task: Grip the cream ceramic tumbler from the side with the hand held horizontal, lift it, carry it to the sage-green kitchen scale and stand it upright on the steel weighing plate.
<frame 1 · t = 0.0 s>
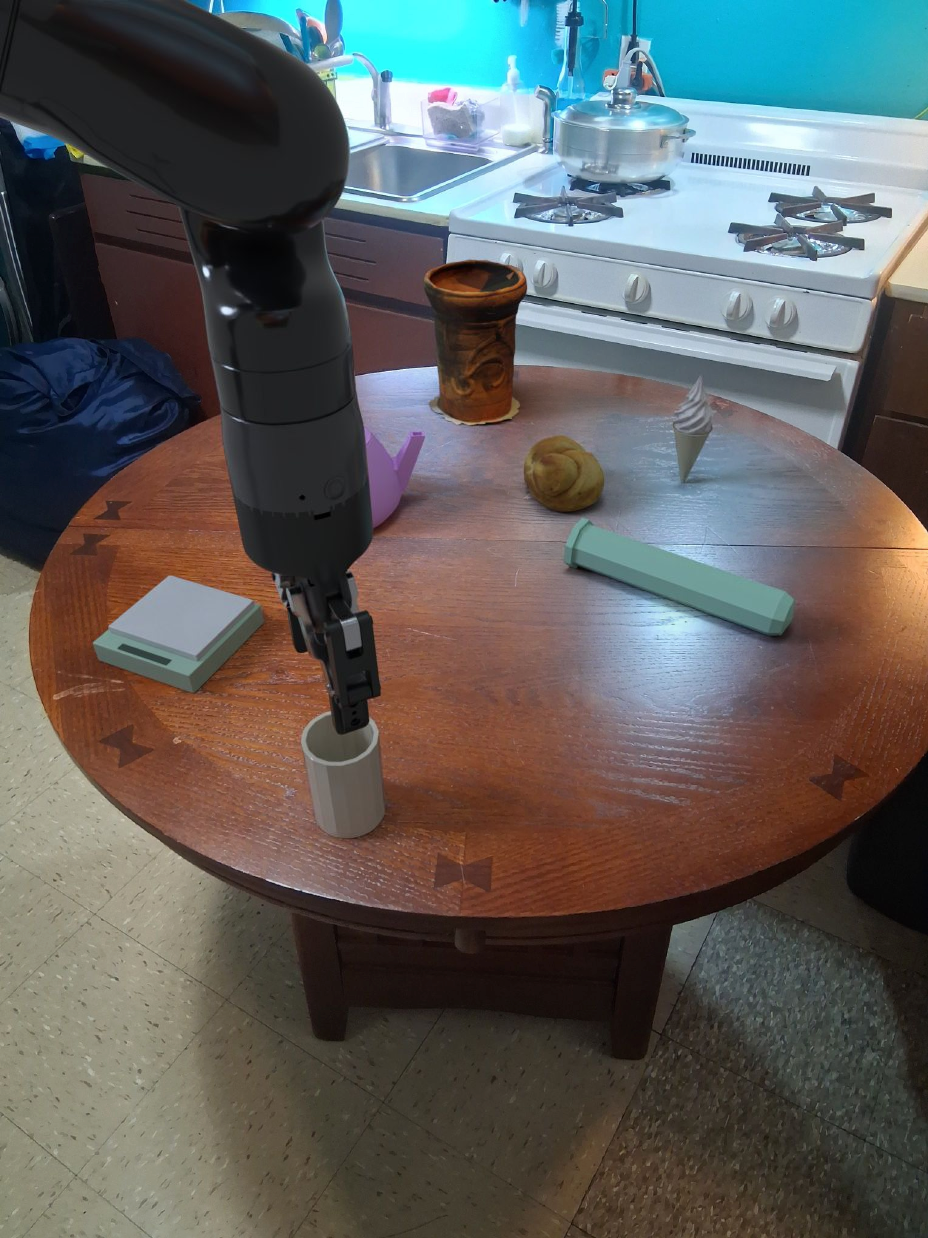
hand: (330, 685, 58), 19 cm above the table, tool pointing down, fingers open, 8 cm apart
scale: (183, 641, 91), on the table
vessel: (475, 409, 133), on the table
ice cream cone: (682, 483, 116), on the table
tumbler: (350, 809, 74), on the table
bread roll: (559, 493, 114), on the table
teapot: (341, 510, 111), on the table
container: (674, 598, 97), on the table
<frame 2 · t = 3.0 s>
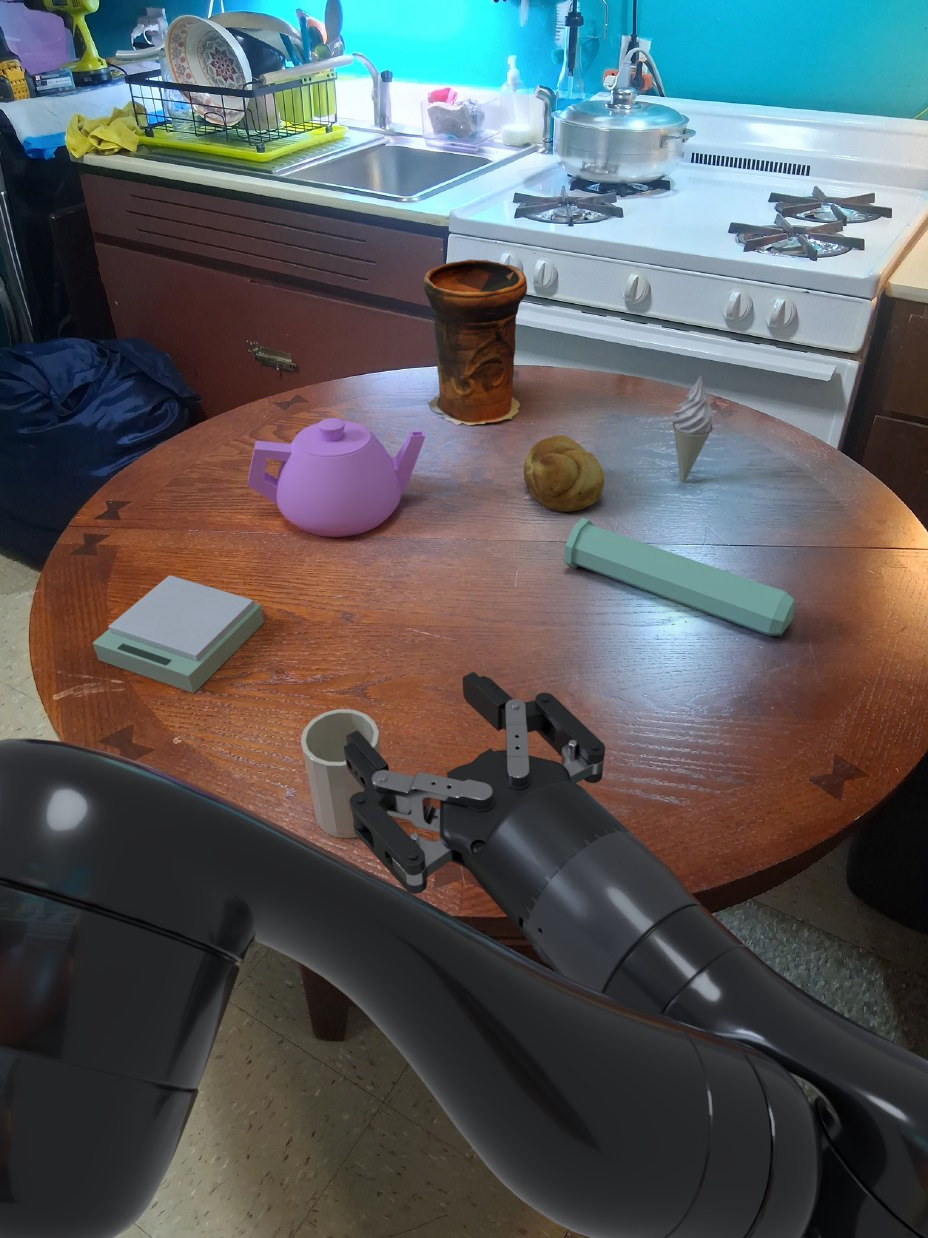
hand: (411, 712, 54), 20 cm above the table, tool horizontal, fingers open, 8 cm apart
nothing on the table moved.
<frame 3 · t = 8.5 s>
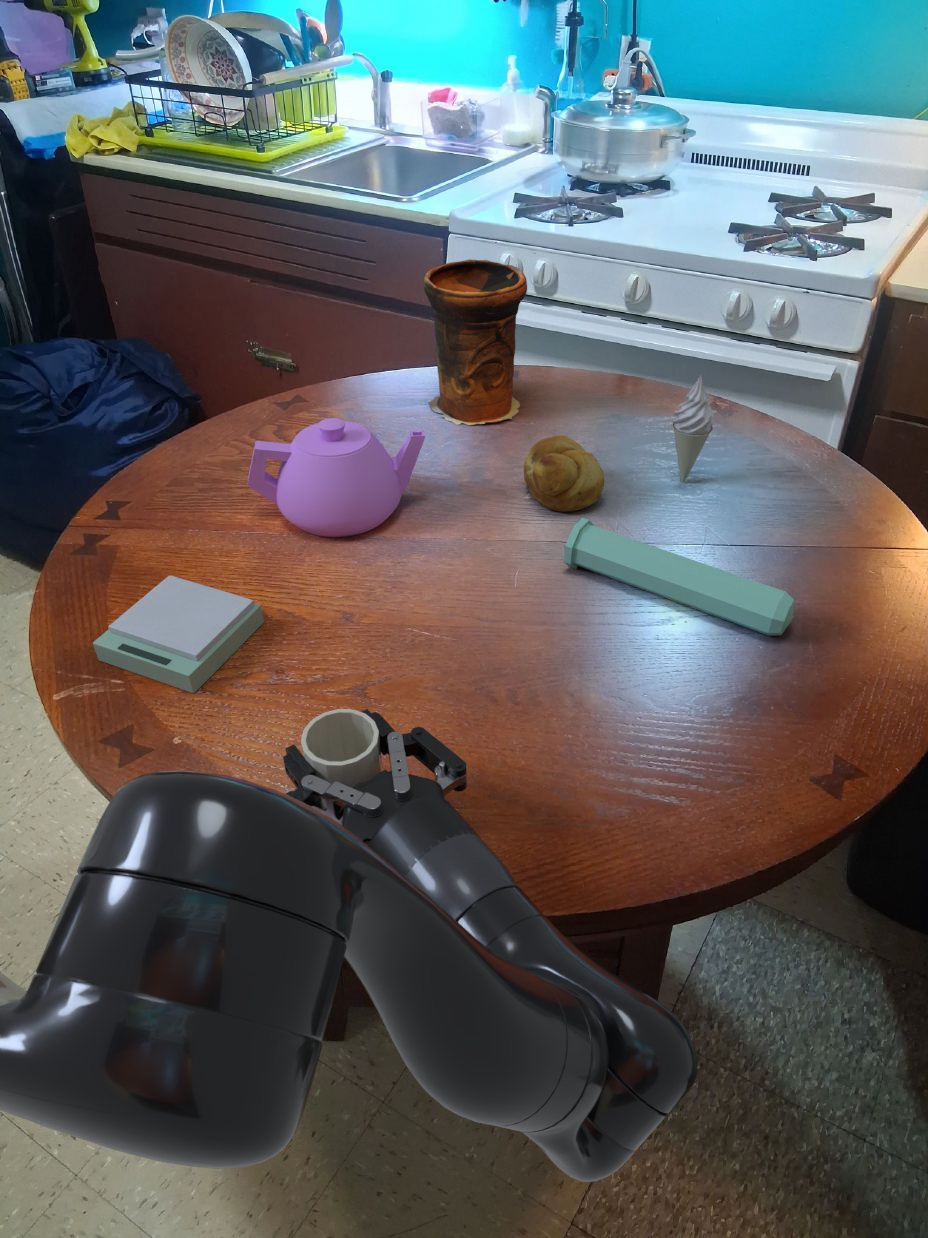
hand: (327, 735, 71), 7 cm above the table, tool horizontal, fingers closed on tumbler, 6 cm apart
tumbler: (350, 809, 74), on the table, touching gripper
everything else where it was.
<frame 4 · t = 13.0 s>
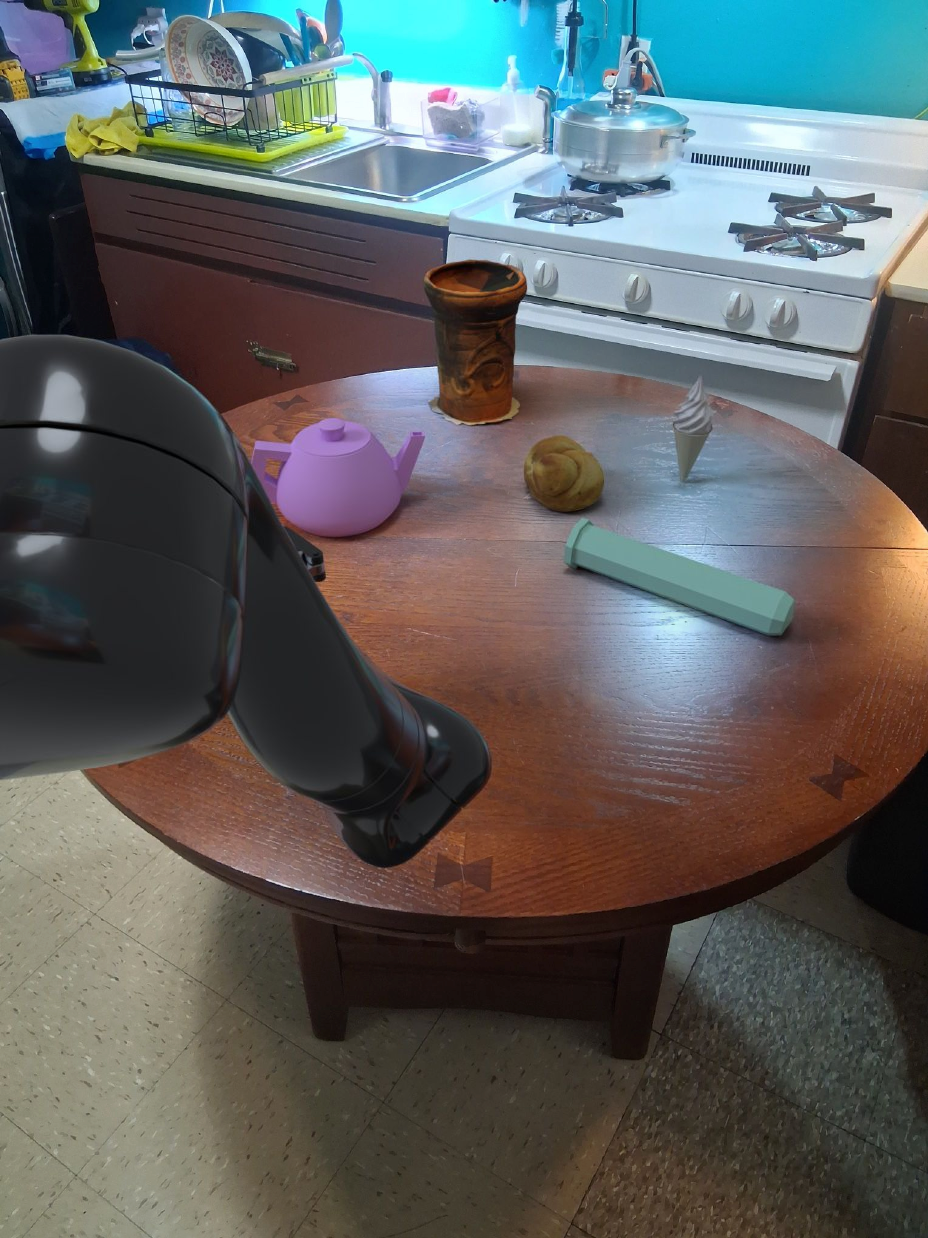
hand: (198, 537, 74), 18 cm above the table, tool horizontal, fingers closed on tumbler, 6 cm apart
tumbler: (224, 615, 77), point 11 cm above the table, touching gripper
everything else where it was.
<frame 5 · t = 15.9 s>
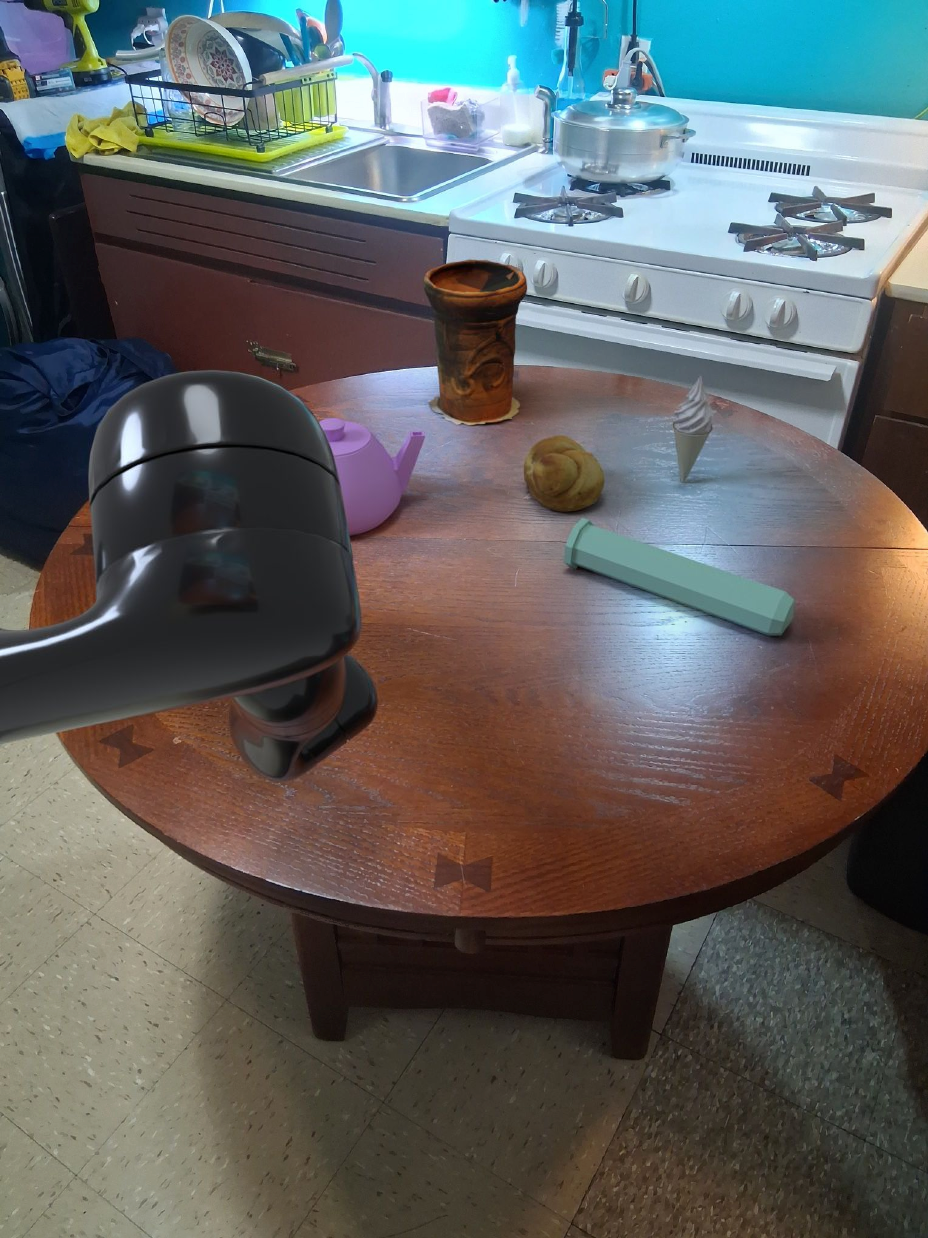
hand: (143, 514, 84), 14 cm above the table, tool horizontal, fingers closed on tumbler, 6 cm apart
tumbler: (169, 584, 87), point 7 cm above the table, touching gripper
everything else where it was.
when the fingers open (10 cm above the table, at t = 18.0 s): tumbler stays where it is, resting on scale.
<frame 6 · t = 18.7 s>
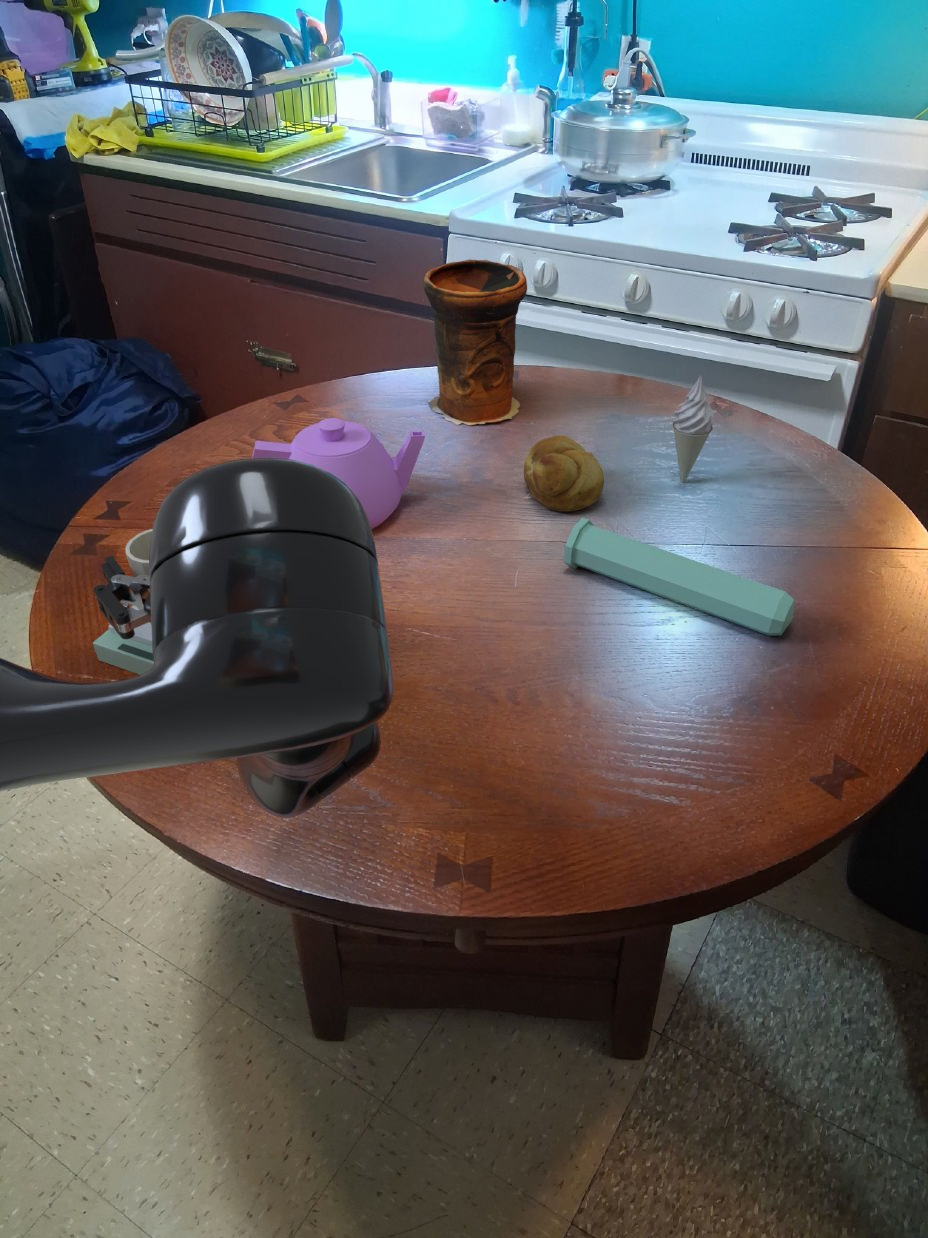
hand: (153, 549, 86), 11 cm above the table, tool horizontal, fingers open, 8 cm apart
tumbler: (178, 617, 89), point 3 cm above the table, touching scale
everything else where it was.
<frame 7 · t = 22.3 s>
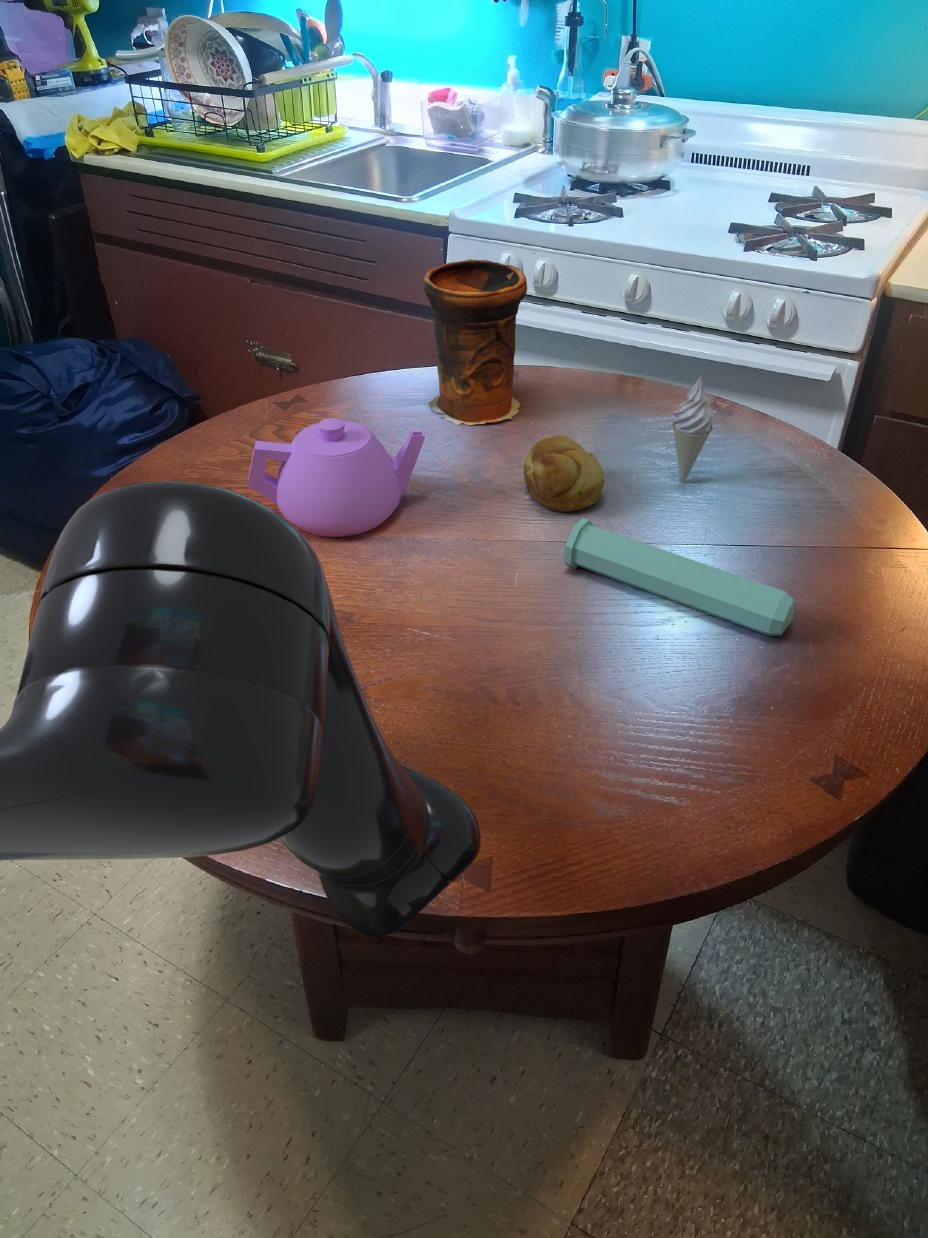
hand: (200, 601, 77), 12 cm above the table, tool horizontal, fingers open, 8 cm apart
nothing on the table moved.
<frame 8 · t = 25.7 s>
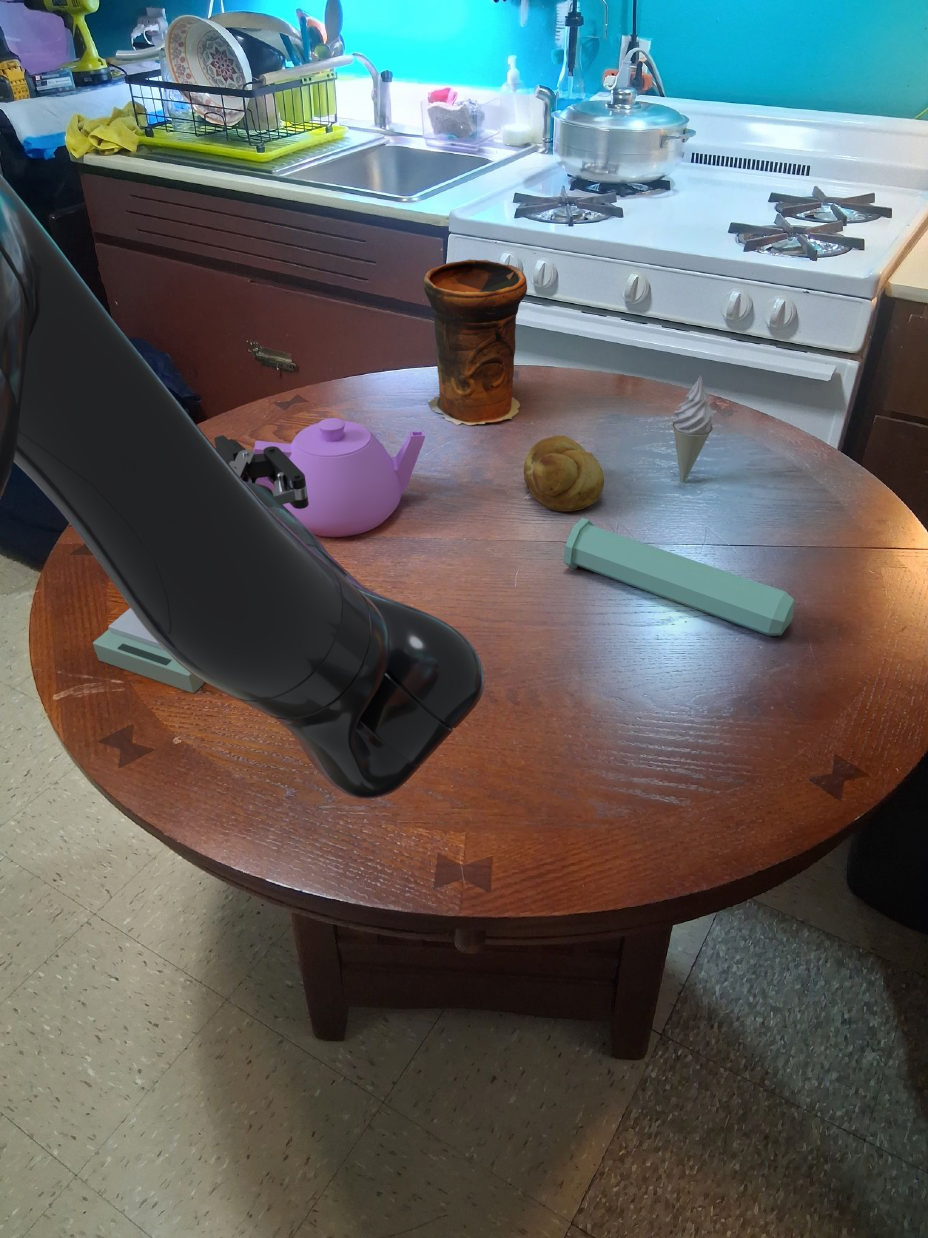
hand: (168, 462, 68), 26 cm above the table, tool horizontal, fingers open, 8 cm apart
nothing on the table moved.
at the end: tumbler inside the target area on the scale (0.4 cm from its centre), point 3.2 cm above the scale's base; tumbler tilted 0°; the gripper is holding nothing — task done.
